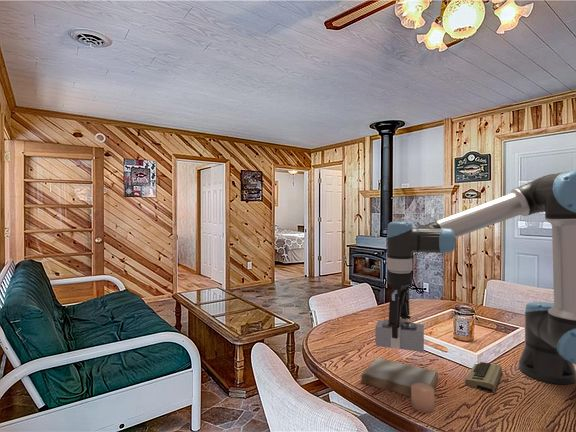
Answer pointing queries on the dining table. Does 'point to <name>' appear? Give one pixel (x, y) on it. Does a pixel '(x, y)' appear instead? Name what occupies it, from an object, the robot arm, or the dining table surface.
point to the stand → (397, 376)
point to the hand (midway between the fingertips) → (399, 343)
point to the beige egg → (422, 397)
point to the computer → (484, 376)
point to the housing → (409, 335)
